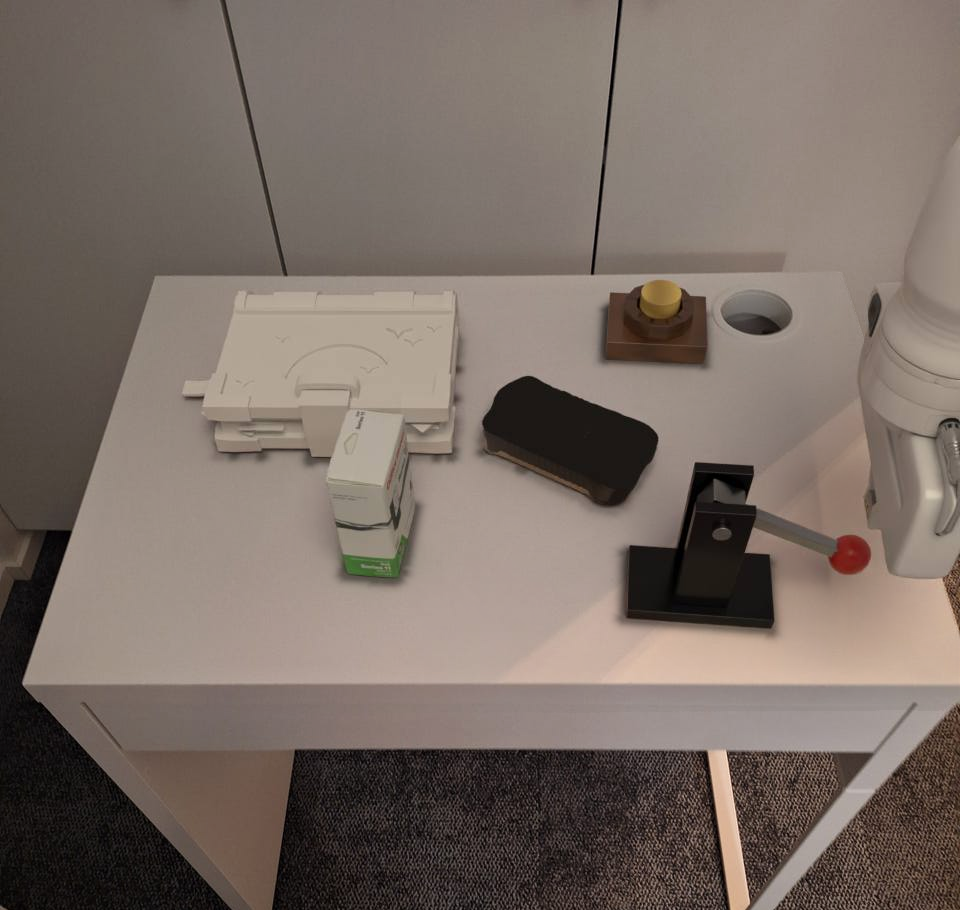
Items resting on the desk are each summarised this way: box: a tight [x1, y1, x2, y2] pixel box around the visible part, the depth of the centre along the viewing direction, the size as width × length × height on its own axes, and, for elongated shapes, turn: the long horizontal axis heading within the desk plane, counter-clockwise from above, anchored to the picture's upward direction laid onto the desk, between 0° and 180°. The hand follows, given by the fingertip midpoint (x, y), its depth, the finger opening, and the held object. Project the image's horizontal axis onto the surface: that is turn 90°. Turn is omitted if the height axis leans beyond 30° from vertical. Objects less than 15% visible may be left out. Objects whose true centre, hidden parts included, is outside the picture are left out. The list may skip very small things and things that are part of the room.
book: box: [181, 289, 460, 458], centre depth 93 cm, size 19×28×8 cm
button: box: [640, 279, 682, 319], centre depth 95 cm, size 4×4×2 cm
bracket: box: [625, 461, 776, 630], centre depth 76 cm, size 12×7×13 cm, turn 84°
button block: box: [605, 284, 708, 365], centre depth 97 cm, size 10×8×4 cm
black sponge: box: [481, 375, 660, 507], centre depth 89 cm, size 16×8×4 cm, turn 56°
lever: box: [697, 478, 872, 576], centre depth 73 cm, size 15×3×3 cm, turn 83°
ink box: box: [325, 407, 416, 579], centre depth 80 cm, size 9×5×12 cm, turn 171°
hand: (876, 515), depth 71 cm, fingers closed
